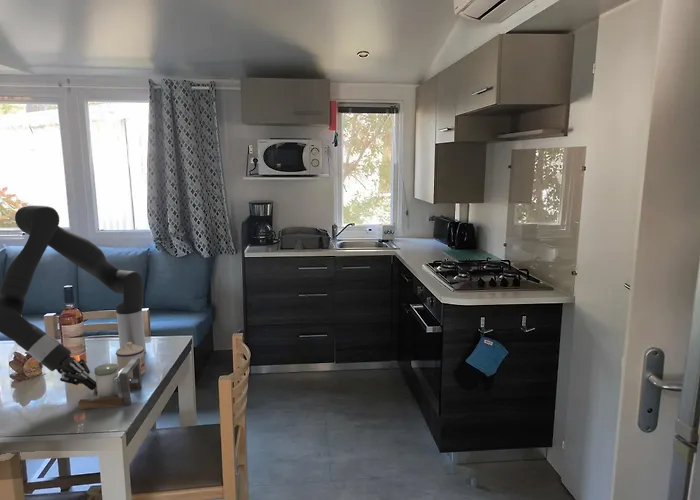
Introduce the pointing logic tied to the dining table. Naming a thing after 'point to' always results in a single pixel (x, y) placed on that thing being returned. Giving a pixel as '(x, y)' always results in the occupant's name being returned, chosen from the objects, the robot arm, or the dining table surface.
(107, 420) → the dining table surface
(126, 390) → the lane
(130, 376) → the teacup with lid
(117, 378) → the pusher
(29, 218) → the robot arm
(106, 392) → the jar
